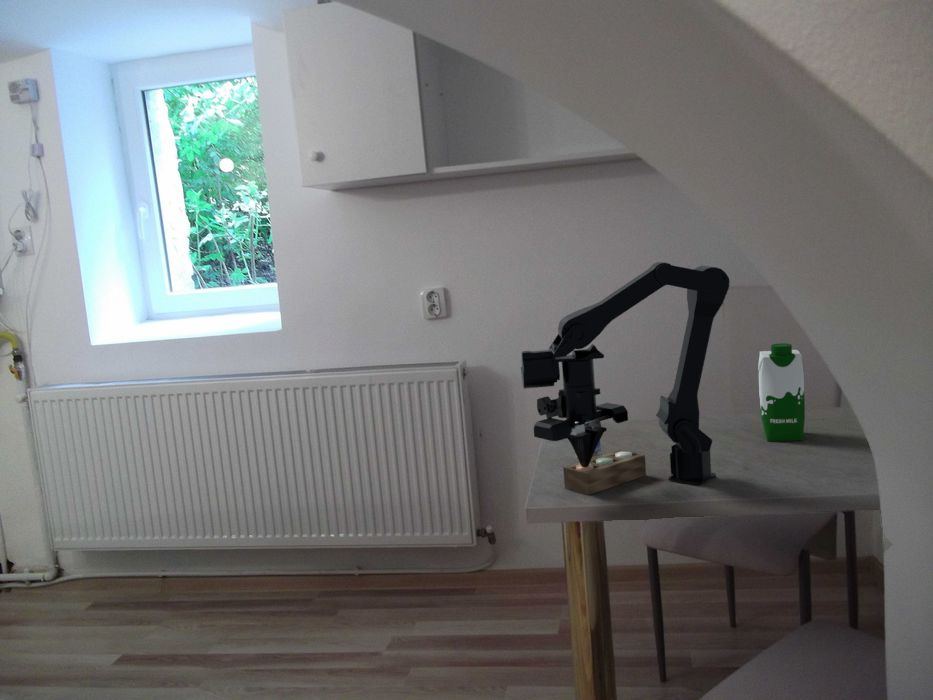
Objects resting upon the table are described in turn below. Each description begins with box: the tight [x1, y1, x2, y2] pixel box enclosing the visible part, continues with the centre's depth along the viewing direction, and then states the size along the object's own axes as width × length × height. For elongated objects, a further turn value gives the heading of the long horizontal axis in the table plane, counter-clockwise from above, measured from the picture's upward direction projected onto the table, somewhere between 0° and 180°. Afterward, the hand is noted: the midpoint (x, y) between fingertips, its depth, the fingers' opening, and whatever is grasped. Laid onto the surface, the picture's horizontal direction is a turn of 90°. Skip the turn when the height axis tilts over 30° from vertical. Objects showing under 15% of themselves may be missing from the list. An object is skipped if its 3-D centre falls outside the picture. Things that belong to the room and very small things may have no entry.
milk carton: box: [757, 342, 806, 442], centre depth 176 cm, size 9×9×20 cm
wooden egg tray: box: [563, 448, 647, 496], centre depth 158 cm, size 15×6×4 cm, turn 125°
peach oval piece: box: [576, 464, 593, 472], centre depth 155 cm, size 3×3×2 cm
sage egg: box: [596, 458, 613, 465], centre depth 158 cm, size 3×3×2 cm
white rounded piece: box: [615, 451, 632, 459], centre depth 161 cm, size 3×3×2 cm
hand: (584, 466), depth 155 cm, fingers closed, pressing on peach oval piece
